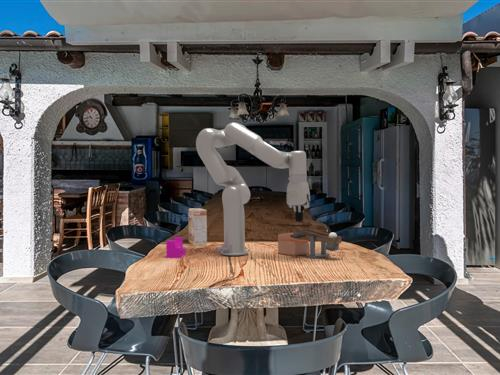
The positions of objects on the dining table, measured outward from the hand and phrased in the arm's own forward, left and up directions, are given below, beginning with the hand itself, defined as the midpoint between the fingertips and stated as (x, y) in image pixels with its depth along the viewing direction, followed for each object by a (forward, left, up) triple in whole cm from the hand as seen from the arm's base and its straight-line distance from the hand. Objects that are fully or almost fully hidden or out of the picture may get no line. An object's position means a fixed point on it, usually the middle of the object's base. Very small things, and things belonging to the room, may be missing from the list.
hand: (299, 221), depth 206 cm
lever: (+6, -5, -7) cm, 11 cm away
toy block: (-33, +44, -16) cm, 58 cm away
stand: (+6, -5, -16) cm, 18 cm away
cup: (+6, +9, -16) cm, 19 cm away
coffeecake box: (-9, +61, -16) cm, 64 cm away
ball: (+6, -13, -6) cm, 16 cm away
